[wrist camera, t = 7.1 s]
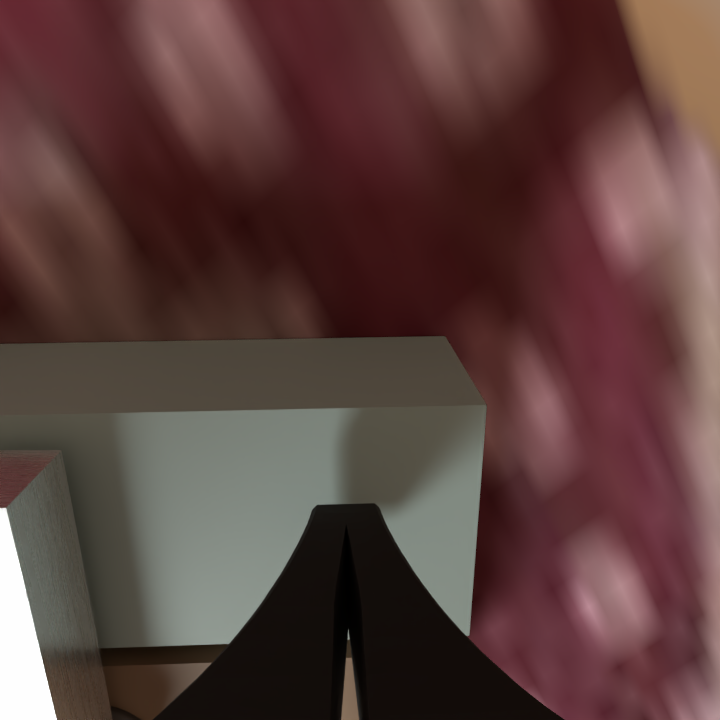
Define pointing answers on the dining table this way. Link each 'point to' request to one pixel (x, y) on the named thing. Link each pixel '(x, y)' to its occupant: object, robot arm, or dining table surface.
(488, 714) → the robot arm
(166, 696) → the jamb
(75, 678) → the lock bar
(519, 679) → the dining table surface
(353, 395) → the grey-green rectangular block
